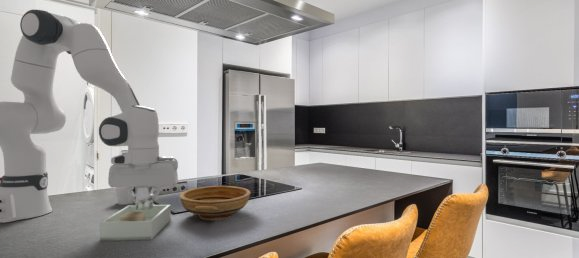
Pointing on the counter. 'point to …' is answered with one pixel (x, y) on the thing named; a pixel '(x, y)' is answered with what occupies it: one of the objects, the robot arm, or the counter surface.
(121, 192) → the candle
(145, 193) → the aluminium cylinder
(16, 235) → the counter surface
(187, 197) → the wooden bowl
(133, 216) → the maple cube
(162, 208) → the tote
